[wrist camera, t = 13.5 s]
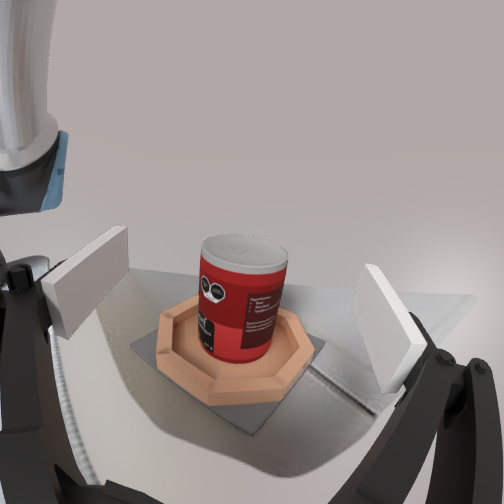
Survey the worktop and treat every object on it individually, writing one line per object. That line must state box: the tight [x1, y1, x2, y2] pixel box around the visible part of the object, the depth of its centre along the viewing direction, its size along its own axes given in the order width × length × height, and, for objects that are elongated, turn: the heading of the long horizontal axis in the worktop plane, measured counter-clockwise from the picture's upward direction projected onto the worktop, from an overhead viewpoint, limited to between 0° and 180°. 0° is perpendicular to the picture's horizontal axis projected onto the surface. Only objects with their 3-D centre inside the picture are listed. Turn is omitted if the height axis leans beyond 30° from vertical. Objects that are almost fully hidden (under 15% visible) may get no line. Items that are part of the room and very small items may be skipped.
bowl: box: [156, 294, 315, 406], centre depth 30 cm, size 16×16×2 cm
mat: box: [130, 329, 326, 435], centre depth 30 cm, size 16×16×1 cm
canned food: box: [198, 234, 288, 364], centre depth 28 cm, size 8×8×11 cm
